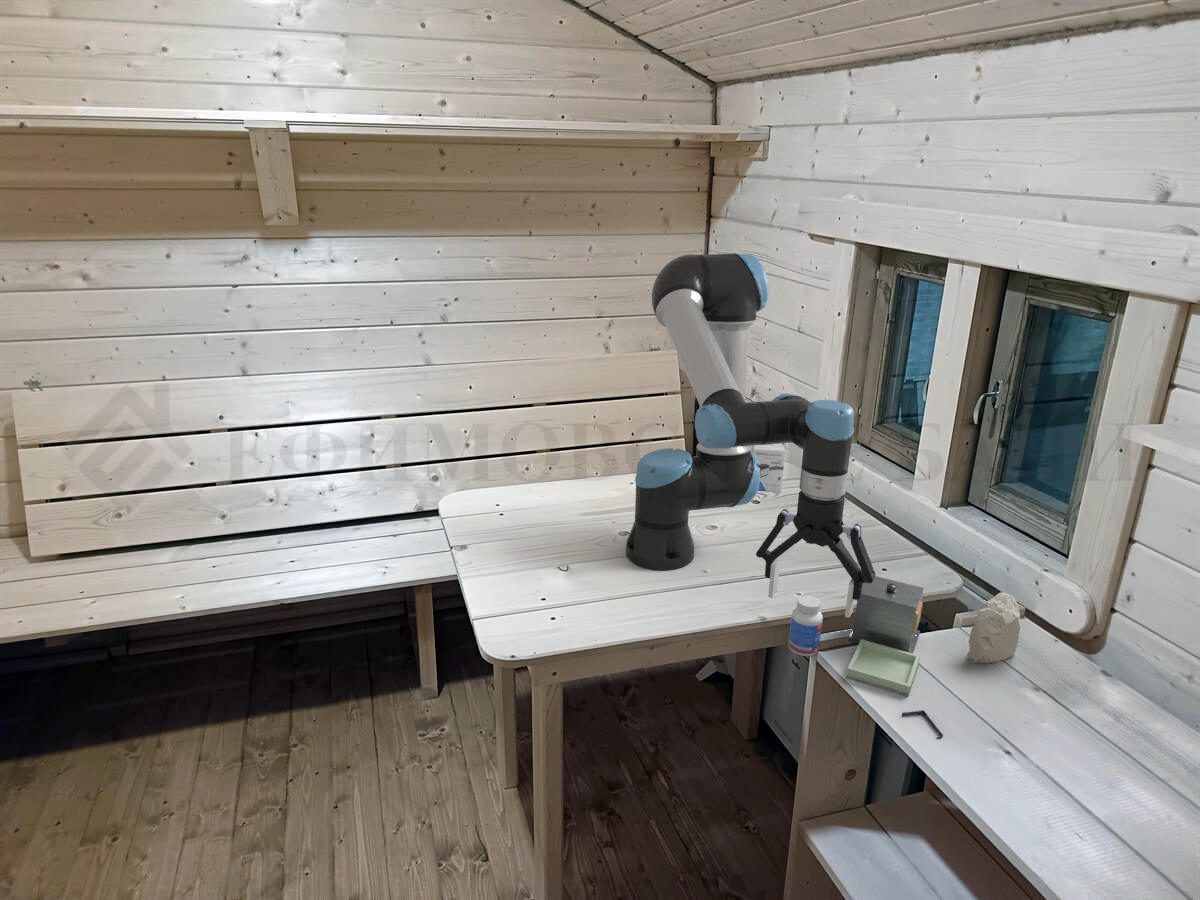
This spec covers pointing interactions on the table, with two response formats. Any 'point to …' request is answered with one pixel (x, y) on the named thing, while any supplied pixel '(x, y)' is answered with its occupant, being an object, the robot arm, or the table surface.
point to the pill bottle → (806, 626)
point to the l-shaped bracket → (925, 717)
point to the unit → (888, 614)
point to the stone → (995, 630)
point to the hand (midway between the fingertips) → (809, 604)
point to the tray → (883, 667)
